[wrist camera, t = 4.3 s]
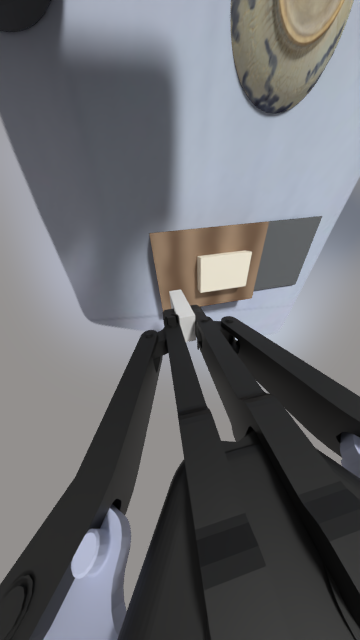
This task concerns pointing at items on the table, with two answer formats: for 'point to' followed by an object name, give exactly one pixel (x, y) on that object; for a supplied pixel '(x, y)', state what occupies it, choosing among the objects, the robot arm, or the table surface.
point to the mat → (285, 251)
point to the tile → (223, 270)
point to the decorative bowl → (284, 47)
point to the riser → (185, 245)
